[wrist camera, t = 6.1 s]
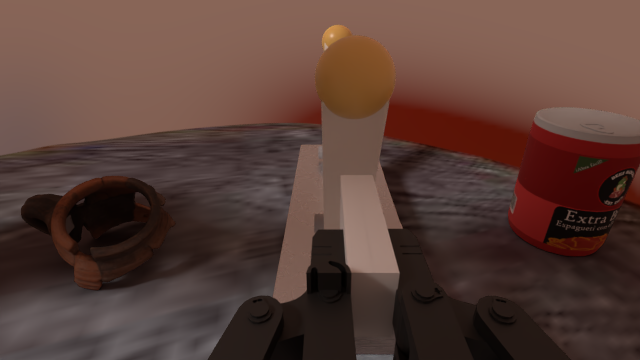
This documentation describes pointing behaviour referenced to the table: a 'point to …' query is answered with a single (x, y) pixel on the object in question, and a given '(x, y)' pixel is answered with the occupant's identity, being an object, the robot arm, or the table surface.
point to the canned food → (574, 178)
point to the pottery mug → (101, 225)
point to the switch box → (302, 230)
